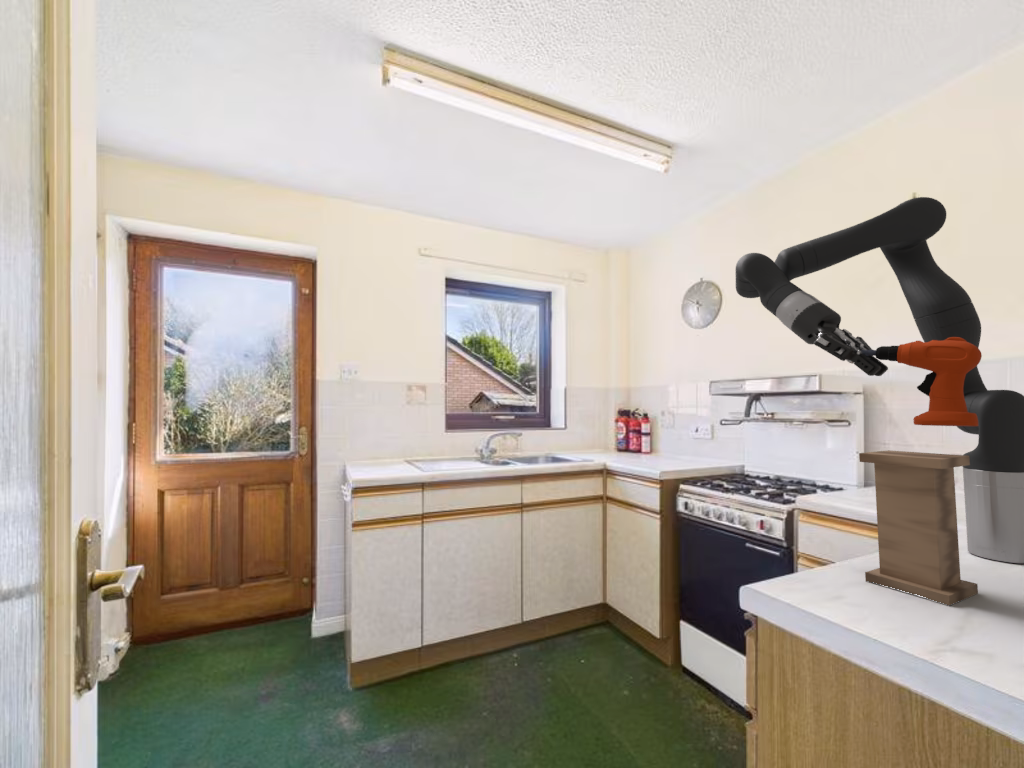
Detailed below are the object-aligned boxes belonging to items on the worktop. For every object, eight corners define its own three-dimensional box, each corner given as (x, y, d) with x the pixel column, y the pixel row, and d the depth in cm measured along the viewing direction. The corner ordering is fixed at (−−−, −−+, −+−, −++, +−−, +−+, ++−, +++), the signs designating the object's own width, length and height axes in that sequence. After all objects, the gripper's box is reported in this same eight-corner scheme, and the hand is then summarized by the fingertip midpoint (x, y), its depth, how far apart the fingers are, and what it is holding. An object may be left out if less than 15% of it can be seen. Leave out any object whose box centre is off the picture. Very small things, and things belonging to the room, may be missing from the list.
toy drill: (839, 415, 87) (850, 338, 86) (979, 432, 72) (992, 339, 72) (831, 414, 83) (842, 334, 83) (975, 431, 69) (988, 334, 69)
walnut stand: (895, 571, 82) (888, 450, 83) (978, 593, 72) (969, 455, 73) (865, 581, 78) (859, 453, 79) (949, 606, 68) (940, 459, 69)
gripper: (799, 298, 87) (876, 354, 75) (839, 304, 93) (916, 357, 81) (773, 329, 91) (842, 387, 80) (813, 333, 97) (883, 388, 86)
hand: (879, 372), depth 80 cm, fingers closed on toy drill
